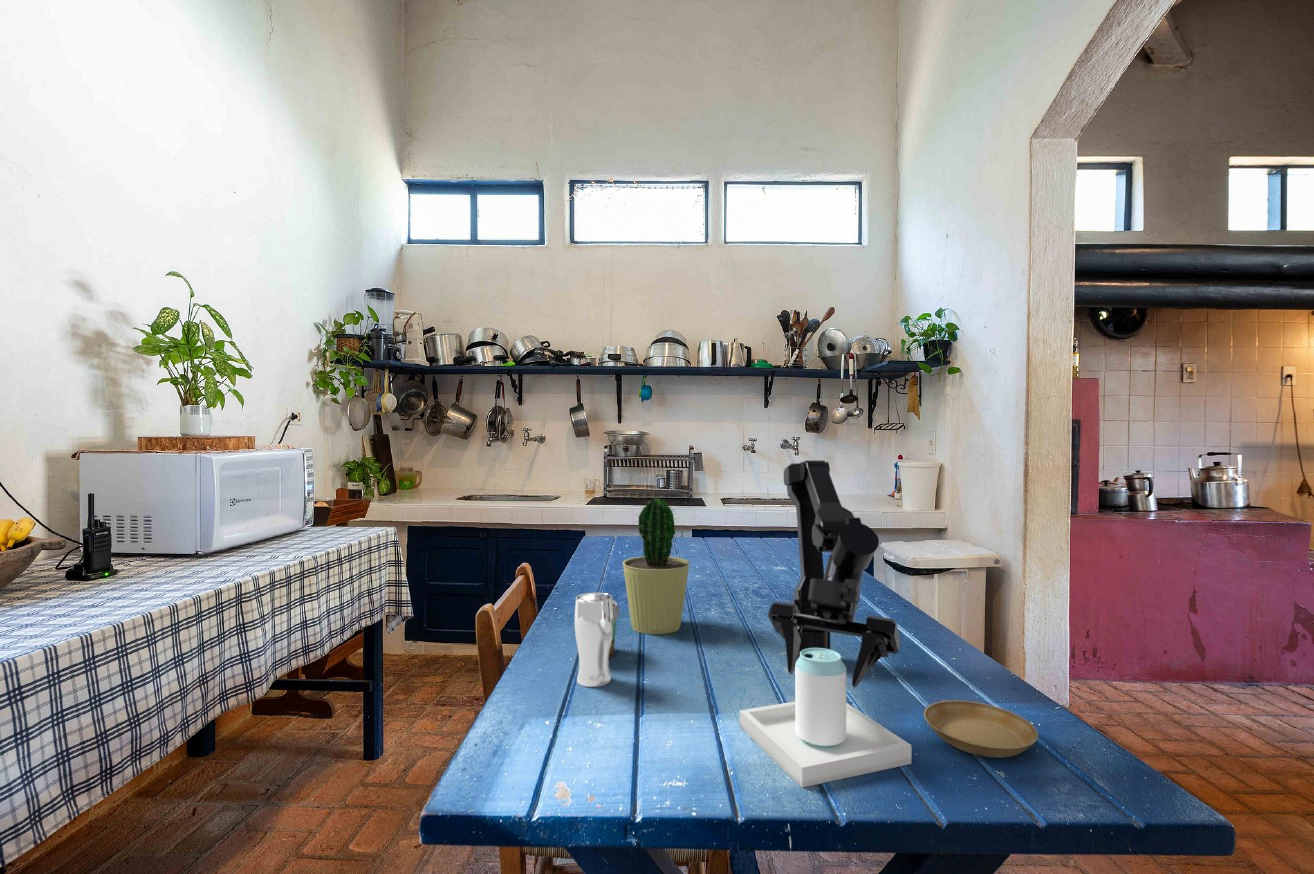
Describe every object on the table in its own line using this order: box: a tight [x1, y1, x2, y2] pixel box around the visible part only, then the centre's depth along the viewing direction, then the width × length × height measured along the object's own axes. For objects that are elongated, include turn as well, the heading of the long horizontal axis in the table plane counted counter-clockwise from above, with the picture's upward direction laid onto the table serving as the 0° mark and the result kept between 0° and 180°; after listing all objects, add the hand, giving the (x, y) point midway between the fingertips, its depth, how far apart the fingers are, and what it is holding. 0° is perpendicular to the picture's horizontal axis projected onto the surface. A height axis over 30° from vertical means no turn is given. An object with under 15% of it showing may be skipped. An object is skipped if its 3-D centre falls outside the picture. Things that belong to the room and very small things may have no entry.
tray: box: [738, 701, 912, 788], centre depth 88 cm, size 17×17×2 cm
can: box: [794, 648, 847, 748], centre depth 88 cm, size 7×7×12 cm
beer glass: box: [574, 592, 614, 688], centre depth 111 cm, size 7×7×15 cm
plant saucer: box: [923, 699, 1039, 759], centre depth 90 cm, size 15×15×3 cm
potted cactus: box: [622, 497, 690, 635], centre depth 142 cm, size 15×15×30 cm
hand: (821, 679), depth 89 cm, fingers open, 9 cm apart
